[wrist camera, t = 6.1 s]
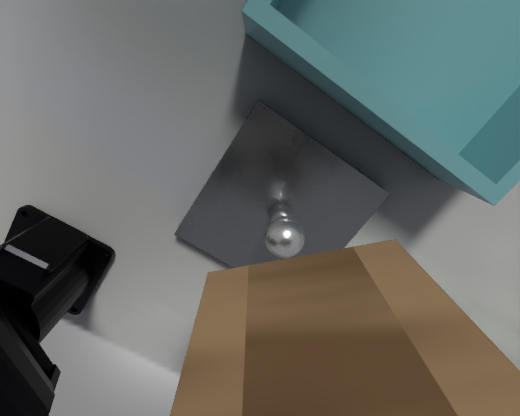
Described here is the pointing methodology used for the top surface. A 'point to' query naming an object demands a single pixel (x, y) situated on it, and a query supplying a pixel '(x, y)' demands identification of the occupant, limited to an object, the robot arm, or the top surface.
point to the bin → (413, 76)
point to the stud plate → (278, 197)
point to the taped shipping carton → (340, 343)
